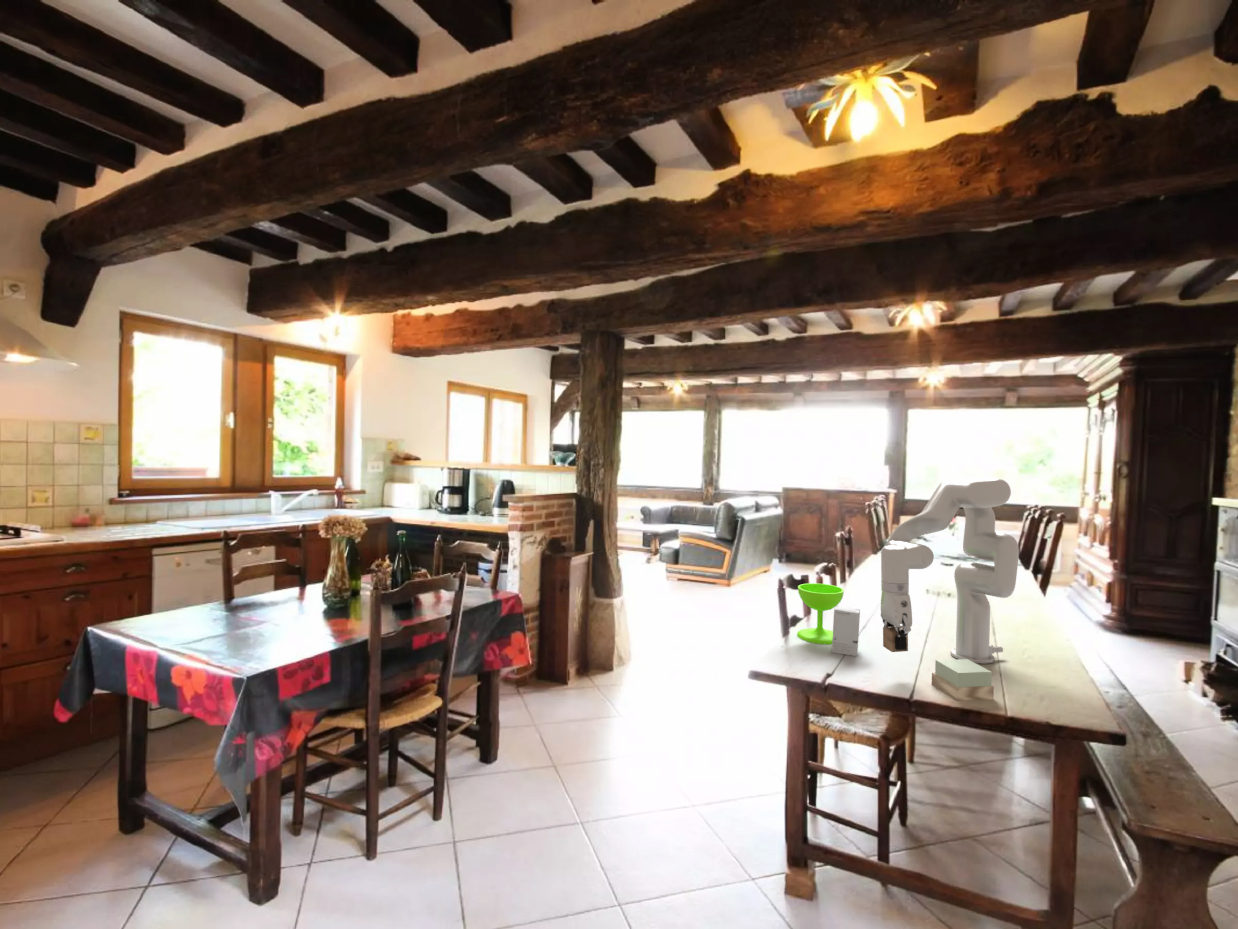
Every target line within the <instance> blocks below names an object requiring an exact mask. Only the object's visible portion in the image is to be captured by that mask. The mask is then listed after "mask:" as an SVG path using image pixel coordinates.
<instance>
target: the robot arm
mask: <svg viewBox="0 0 1238 929" xmlns="http://www.w3.org/2000/svg"><path fill="white" fill-rule="evenodd" d="M1011 491H1012V490H1011V487H1010V484H1009V483H1008V482H1007V481H1006V480H1004V479H1000V478H989V477H987V478H985V477H974V476H968V477H967V476H964V477H959V478H956V479H947V480H944V481H942V482H941V483H939V485H938V486H937V488H935V491H934V492H933V493H932V495H931V496H930V498H929V500H928V501H927V503H926V505H925V506H924V508H923V509H922V511H921V512H920V513H918V514H916V515H914V516H913V517H911V518H909V519H907V520H906V521H904V522H902V523H901V524H899V525H898V526H897V527H896V528H895V529H894V530H893V531H892V533H891V535H890V536H889V538H888V540H887V541H886V543H885V545H884V546H883V547H882V548H881V550H880V551H881V552H880V555H881V556H880V557H881V558H880V563H881V564H880V567H881V568H880V569H881V571H880V572H881V576H880V578H881V584H880V585H881V586H880V587H881V598H880V617H881V619H882V623H883V627H893V626H895V629H896V635H897V636H895V649H896V650H903V649H906V637H907V634H908V635H909V633H910V632H911V631H912V628H911V627H912V626H913V611H912V609H913V608H912V601H911V597H910V596H911V595H910V591H909V590H910V588H909V587H910V586H909V585H910V584H909V580H910V579H909V578H910V577H909V574H910V573H909V572H910V571H909V570H924V569H927V568H928V567H930V566H931V565H932V564H933V562H934V560H935V559H934V558H935V557H934V552H933V550H932V549H931V548H930V547H929V546H927V545H926V544H921V543H915V542H912V541H913V540H915V539H916V538H918V537H921V536H924V535H925V536H926V535H928V534H934V533H937V532H941V531H944V530H946V529H947V528H948V527H949V525H950V524H951V522H952V521H953V519H954V517H955V515H956V514H957V513H958V512H959V509H960V508H963V511H964V517H965V521H964V523H965V524H964V530H963V540H962V541H963V542H962V550H963V553H964V555H965V556H967V557H969V558H973V559H975V560H981V561H986V562H993V563H994V565H989V564H984V563H980V562H979V563H978V562H974V561H965V562H962V563H960V564H958V565H957V566H956V567H955V570H954V575H953V577H954V583H955V588H956V631H955V647H953V648H951V649H950V655H951V656H952V657H953V658H955V659H956V660H957V659H968V660H970V661H972V662H974V663H976V664H979V665H980V664H992V663H994V662H995V656H994V655H993V654H995V653H997V654H998V653H1003V651H1004V648H1003V647H1002V646H994V645H993V644H990V634H991V630H990V629H991V605H990V600H989V599H988V597H987V596H991V597H995V598H1001V599H1005V598H1006V599H1007V598H1009V597H1010V596H1012V595H1013V593H1014V591H1015V588H1016V584H1017V575H1018V566H1019V565H1018V564H1019V555H1020V551H1019V550H1020V549H1019V544H1018V541H1017V539H1016V538H1015V537H1014V536H1012V535H1010V534H1007V533H1001V532H996V514H995V512H994V510H993V508H995V507H1001V506H1003V505H1004V504H1006V503H1007V502H1008V501H1009V499H1010V497H1011V495H1012V494H1011V493H1012V492H1011ZM899 628H903V630H901V631H899Z"/></svg>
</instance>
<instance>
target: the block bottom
mask: <svg viewBox="0 0 1238 929" xmlns="http://www.w3.org/2000/svg"><path fill="white" fill-rule="evenodd" d="M931 685H932V686H933V687H935V688H936V689H938V690H939V691H941V692H942V693H943V694H945V695H947V696H949V697H950V698H951V699H953V700H955V701H957V702H958V701H979V700H980V701H984V700H994V690H995V686H993V685H992V686H981V687H957V686H955V685H953V684H952V683H950V682H948V681H947V680H945V679H943V678H942V677H940V676H938V675H937V674H935V672H931Z"/></svg>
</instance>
